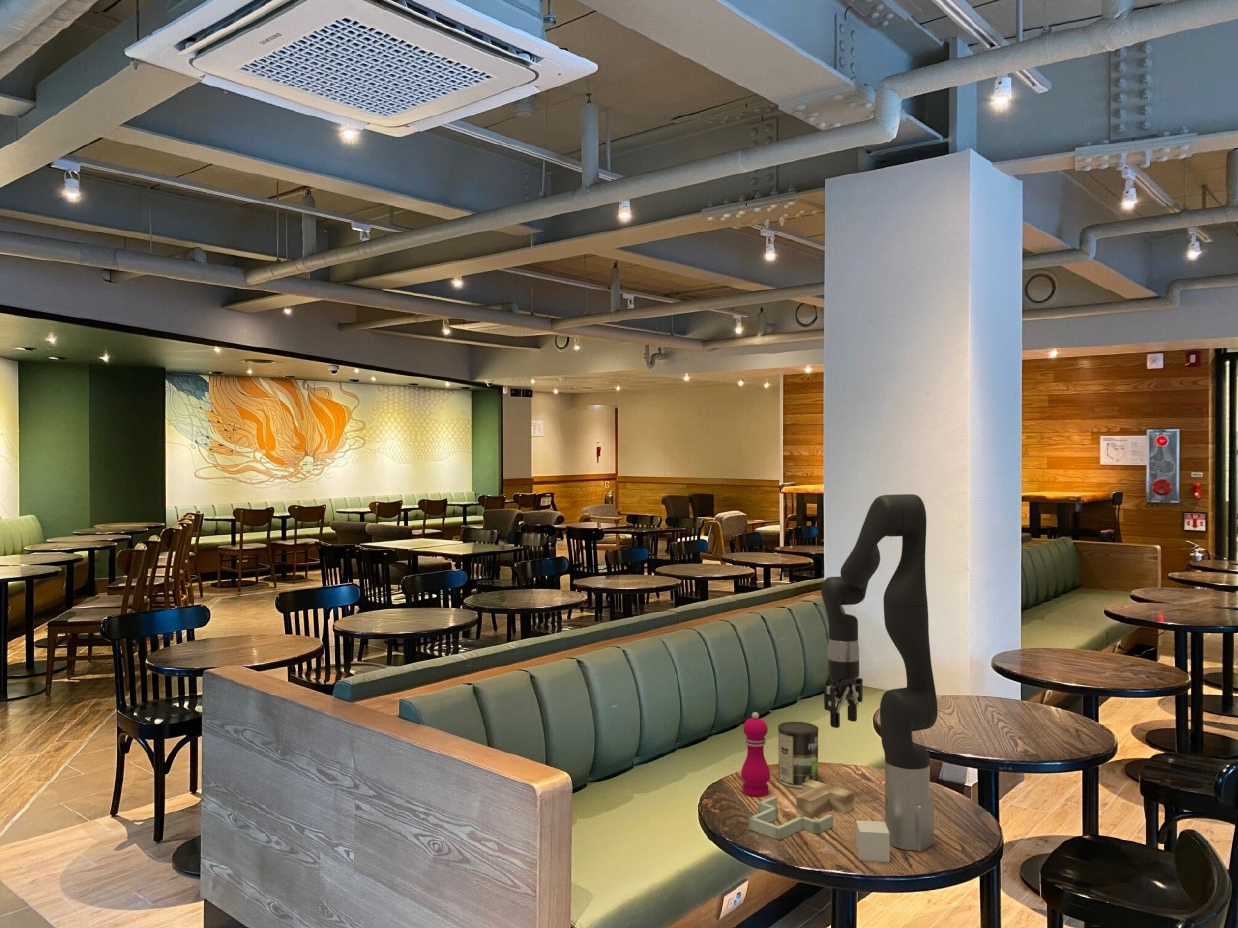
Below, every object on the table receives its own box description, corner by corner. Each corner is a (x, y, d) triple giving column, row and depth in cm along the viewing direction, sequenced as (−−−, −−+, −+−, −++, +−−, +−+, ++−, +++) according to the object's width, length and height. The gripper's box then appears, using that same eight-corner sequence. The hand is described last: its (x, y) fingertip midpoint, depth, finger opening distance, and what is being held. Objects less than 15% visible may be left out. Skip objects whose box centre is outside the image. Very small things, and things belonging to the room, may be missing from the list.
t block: (854, 809, 211) (854, 792, 211) (825, 823, 202) (825, 805, 202) (811, 795, 219) (811, 779, 219) (782, 808, 211) (782, 791, 211)
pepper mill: (767, 798, 217) (767, 717, 217) (738, 795, 220) (738, 714, 220) (772, 788, 224) (772, 709, 224) (744, 785, 226) (743, 707, 226)
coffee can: (823, 778, 231) (823, 724, 231) (811, 791, 222) (811, 734, 222) (785, 771, 236) (785, 718, 236) (772, 783, 227) (772, 728, 227)
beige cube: (859, 860, 183) (859, 831, 184) (856, 848, 189) (855, 820, 189) (889, 862, 183) (889, 832, 183) (885, 849, 189) (884, 821, 189)
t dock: (832, 826, 201) (832, 815, 201) (794, 845, 190) (794, 834, 190) (773, 806, 212) (773, 796, 212) (734, 823, 202) (734, 812, 202)
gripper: (841, 664, 211) (841, 733, 211) (872, 655, 221) (872, 721, 221) (814, 659, 217) (814, 726, 217) (845, 650, 227) (846, 715, 227)
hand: (843, 723), depth 219 cm, fingers open, 7 cm apart
